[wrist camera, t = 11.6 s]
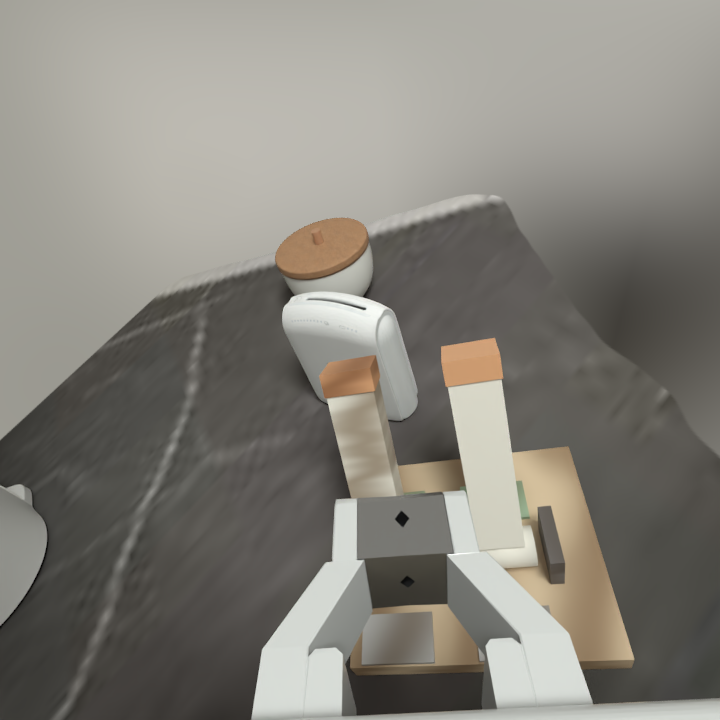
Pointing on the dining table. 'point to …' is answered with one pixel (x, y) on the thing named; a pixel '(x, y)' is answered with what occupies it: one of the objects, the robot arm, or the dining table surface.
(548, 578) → the console
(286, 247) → the lidded jar
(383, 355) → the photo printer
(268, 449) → the dining table surface
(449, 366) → the lever
